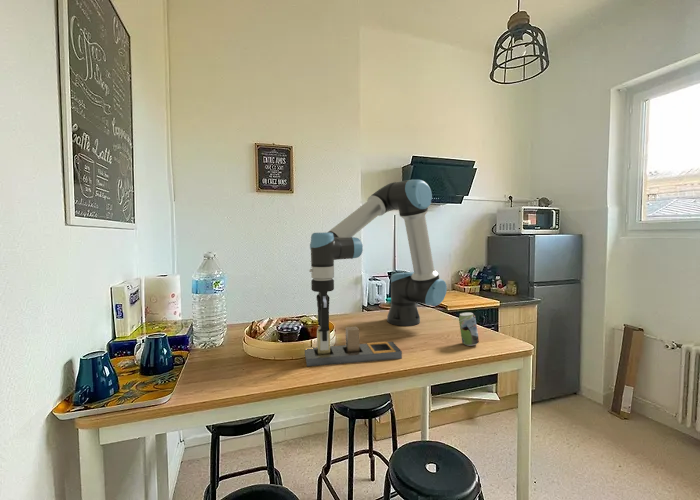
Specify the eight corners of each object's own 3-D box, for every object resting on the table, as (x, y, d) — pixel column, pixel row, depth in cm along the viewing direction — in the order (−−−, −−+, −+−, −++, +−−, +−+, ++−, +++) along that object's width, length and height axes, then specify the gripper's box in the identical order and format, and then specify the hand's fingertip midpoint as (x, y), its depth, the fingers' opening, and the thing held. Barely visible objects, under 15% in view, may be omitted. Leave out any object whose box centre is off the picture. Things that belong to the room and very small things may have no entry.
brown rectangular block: (345, 355, 121) (345, 327, 121) (357, 354, 122) (356, 326, 121) (347, 359, 117) (347, 330, 117) (359, 358, 118) (359, 329, 117)
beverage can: (480, 347, 127) (480, 315, 127) (459, 346, 129) (459, 314, 128) (477, 342, 134) (478, 311, 133) (457, 341, 135) (457, 310, 134)
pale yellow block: (317, 357, 119) (316, 328, 119) (328, 356, 120) (328, 328, 119) (318, 361, 116) (318, 332, 115) (330, 360, 116) (330, 331, 116)
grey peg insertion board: (304, 355, 122) (304, 347, 121) (392, 348, 128) (392, 341, 127) (306, 366, 112) (306, 358, 112) (401, 358, 118) (401, 350, 118)
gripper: (309, 275, 124) (310, 339, 125) (313, 283, 107) (314, 357, 108) (330, 274, 125) (331, 338, 127) (337, 282, 108) (338, 355, 110)
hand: (323, 347), depth 118 cm, fingers closed on pale yellow block, 4 cm apart
